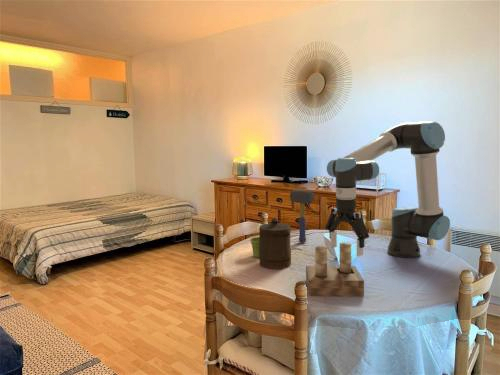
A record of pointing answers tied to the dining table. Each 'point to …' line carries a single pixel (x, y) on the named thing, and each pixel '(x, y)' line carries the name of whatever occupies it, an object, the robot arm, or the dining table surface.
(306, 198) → the rubber mallet
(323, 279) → the board
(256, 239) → the plant pot
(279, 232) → the wooden container
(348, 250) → the beech peg
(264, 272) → the dining table surface
